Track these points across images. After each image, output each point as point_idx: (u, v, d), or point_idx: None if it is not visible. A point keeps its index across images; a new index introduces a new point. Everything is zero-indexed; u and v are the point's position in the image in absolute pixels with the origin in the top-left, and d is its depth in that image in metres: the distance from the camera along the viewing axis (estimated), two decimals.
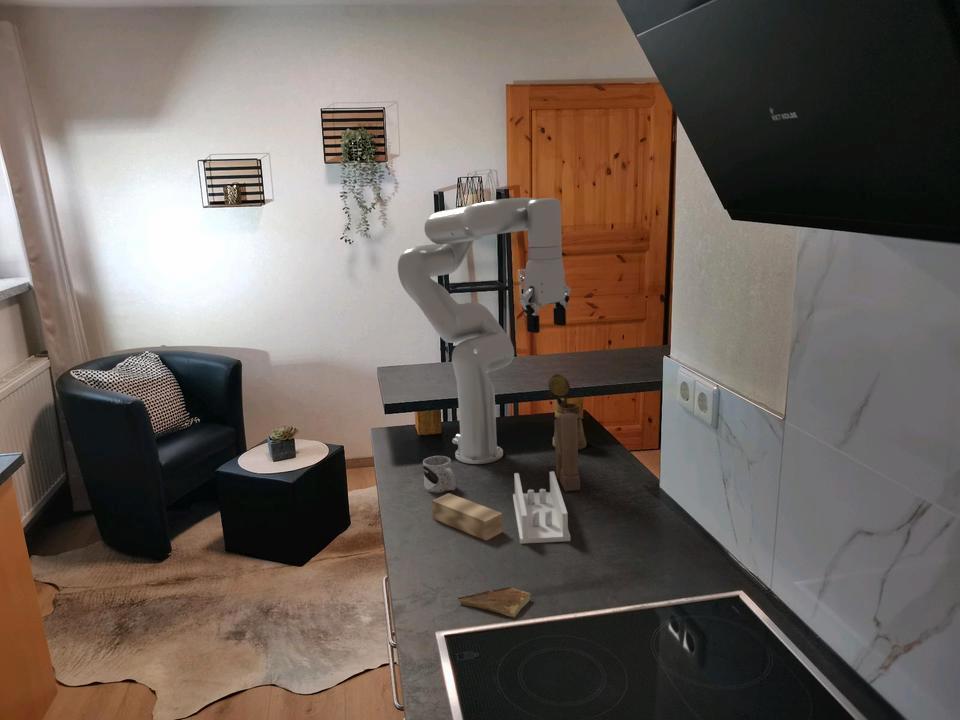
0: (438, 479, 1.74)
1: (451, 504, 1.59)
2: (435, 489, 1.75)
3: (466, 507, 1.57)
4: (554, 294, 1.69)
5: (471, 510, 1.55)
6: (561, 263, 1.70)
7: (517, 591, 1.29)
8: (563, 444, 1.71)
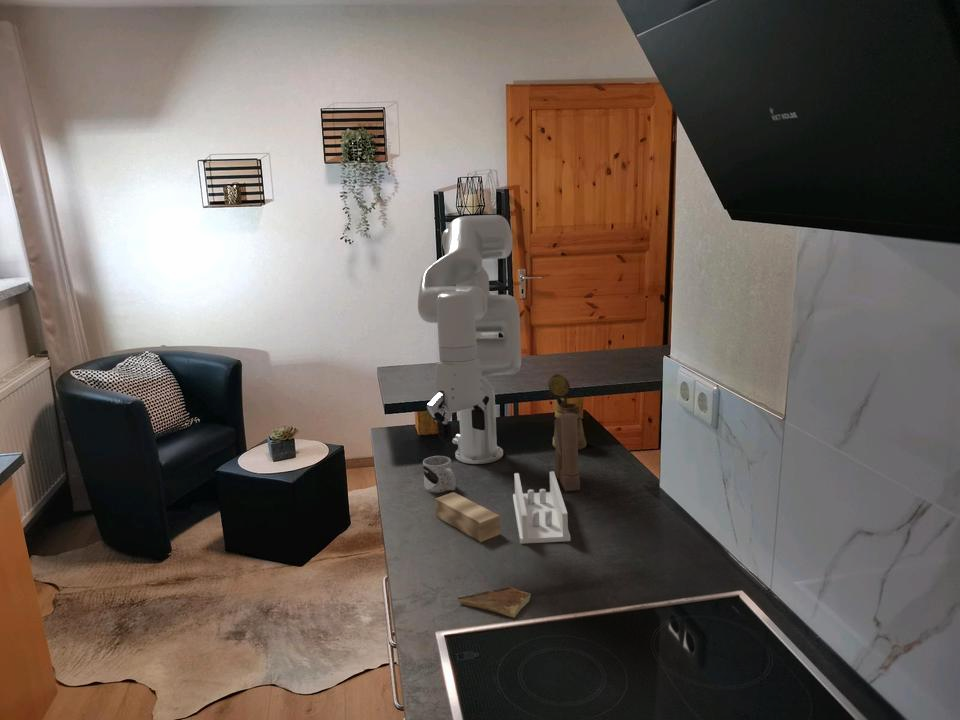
0: (438, 479, 1.74)
1: (452, 503, 1.59)
2: (435, 489, 1.75)
3: (465, 507, 1.57)
4: (468, 398, 1.50)
5: (470, 510, 1.55)
6: (477, 363, 1.50)
7: (517, 591, 1.29)
8: (563, 444, 1.71)
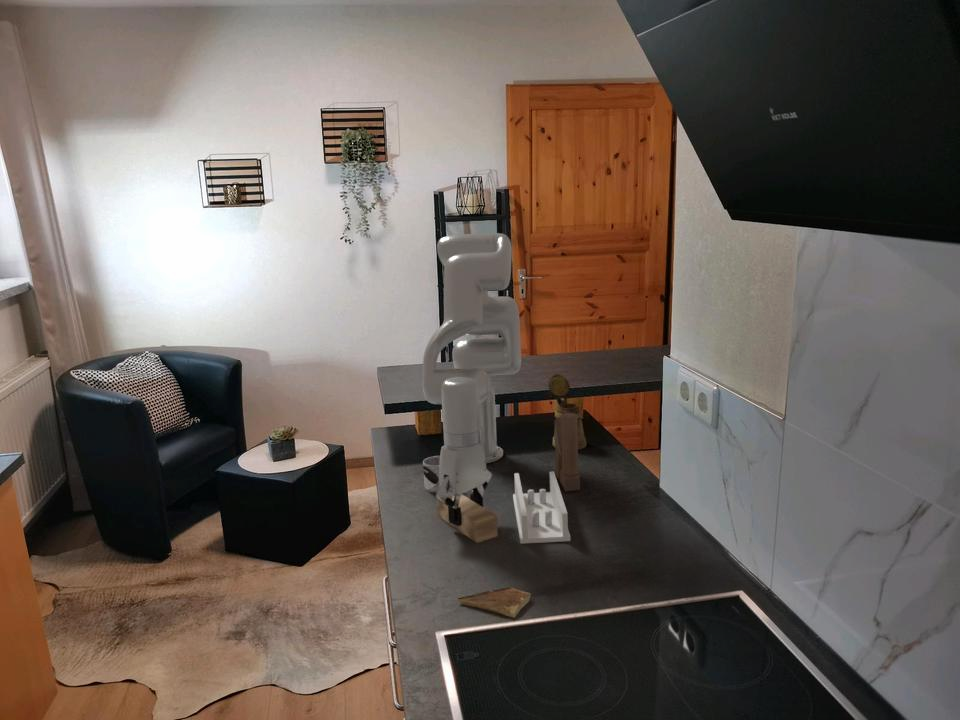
0: (438, 479, 1.74)
1: None
2: (435, 489, 1.75)
3: (465, 506, 1.56)
4: (472, 480, 1.54)
5: (468, 509, 1.55)
6: (480, 446, 1.54)
7: (517, 591, 1.29)
8: (563, 444, 1.71)
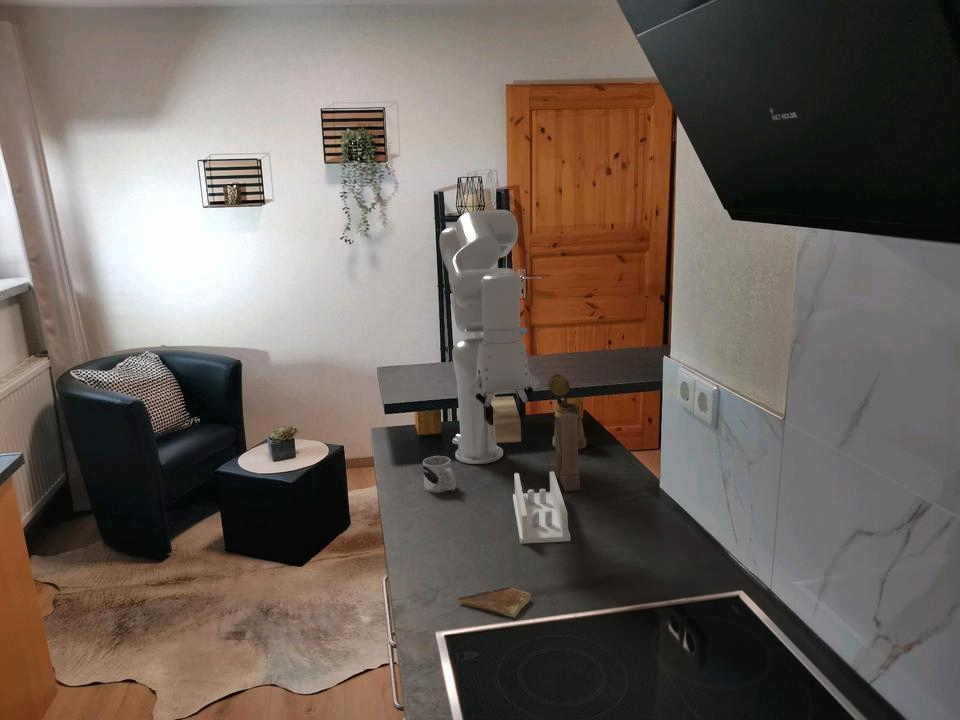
0: (438, 479, 1.74)
1: (497, 403, 1.56)
2: (435, 489, 1.75)
3: (502, 408, 1.53)
4: (507, 381, 1.50)
5: (502, 411, 1.51)
6: (520, 347, 1.49)
7: (517, 591, 1.29)
8: (563, 444, 1.71)
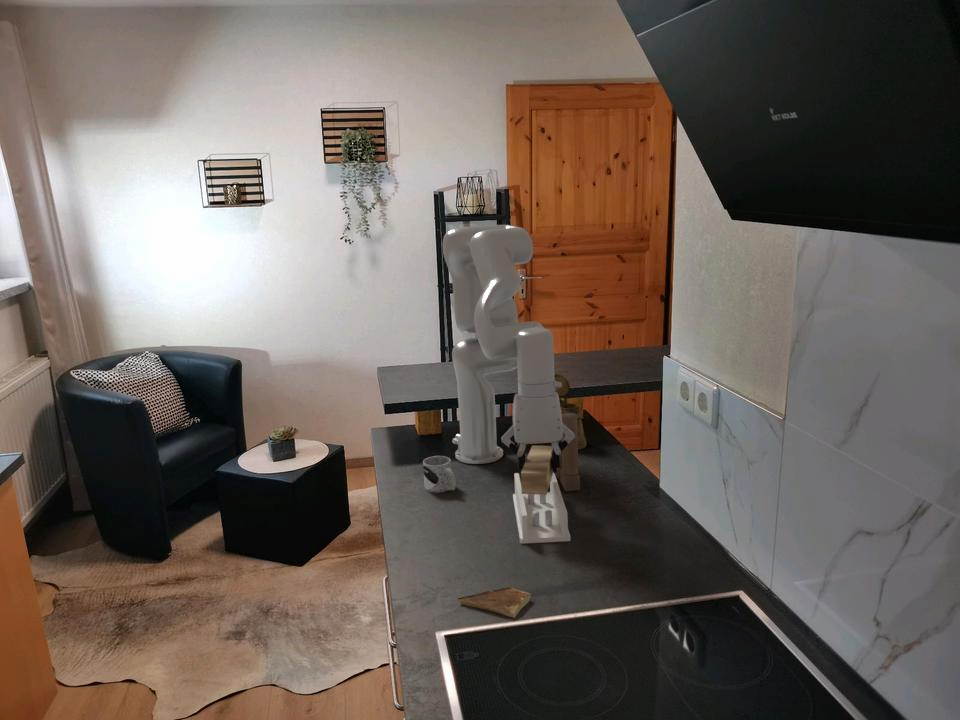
0: (438, 479, 1.74)
1: (535, 452, 1.60)
2: (435, 489, 1.75)
3: (536, 459, 1.56)
4: (539, 434, 1.53)
5: (534, 462, 1.54)
6: (552, 401, 1.51)
7: (517, 591, 1.29)
8: None
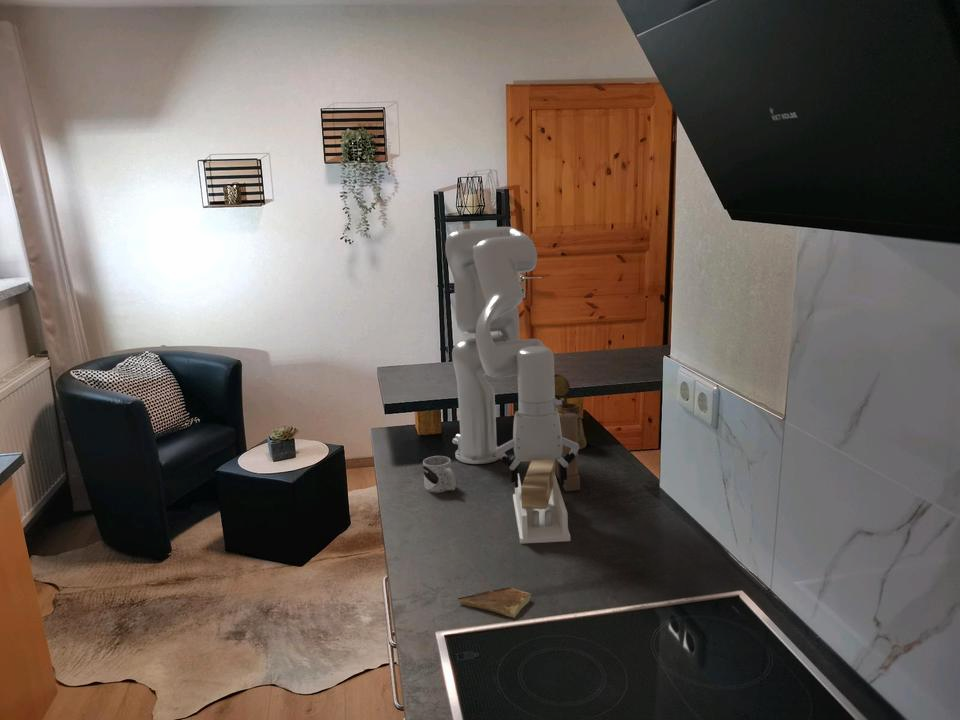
0: (438, 479, 1.74)
1: (535, 466, 1.60)
2: (435, 489, 1.75)
3: (536, 473, 1.57)
4: (539, 451, 1.54)
5: (535, 476, 1.55)
6: (553, 419, 1.52)
7: (517, 591, 1.29)
8: None
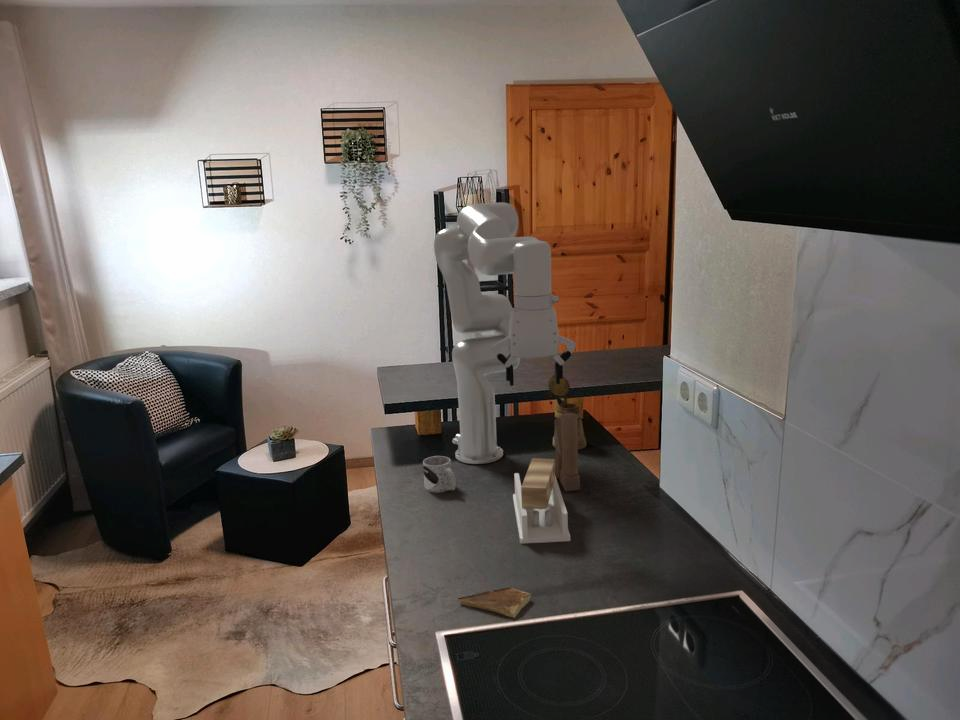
0: (438, 479, 1.74)
1: (535, 466, 1.60)
2: (435, 489, 1.75)
3: (536, 473, 1.57)
4: (535, 348, 1.52)
5: (535, 476, 1.55)
6: (549, 315, 1.50)
7: (517, 591, 1.29)
8: (563, 444, 1.71)
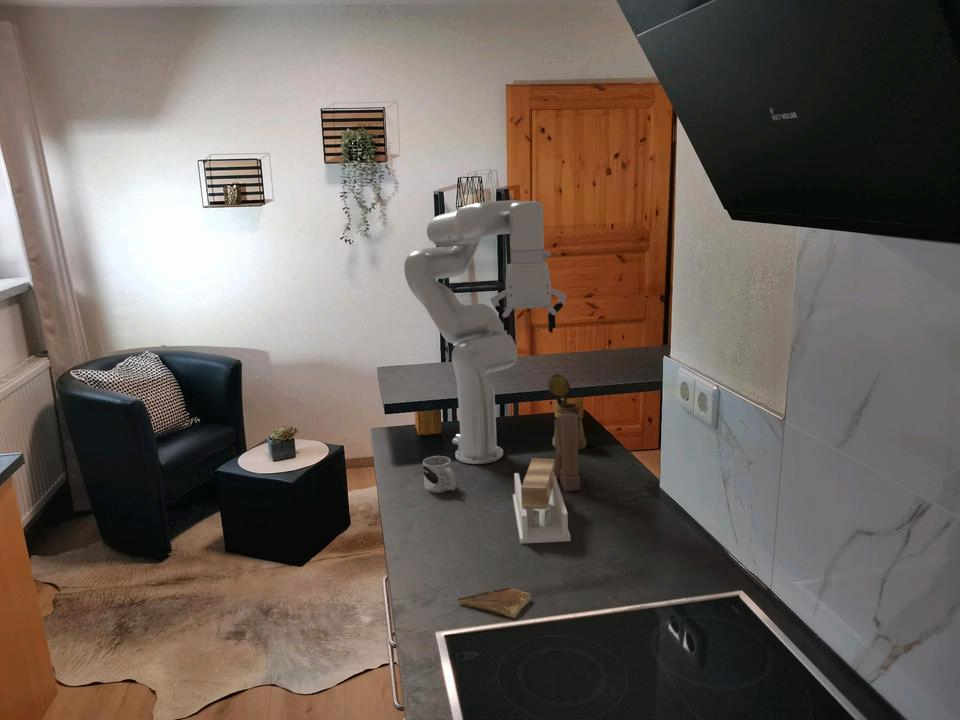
0: (438, 479, 1.74)
1: (535, 466, 1.60)
2: (435, 489, 1.75)
3: (536, 473, 1.57)
4: (530, 299, 1.67)
5: (535, 476, 1.55)
6: (542, 268, 1.66)
7: (517, 591, 1.29)
8: (563, 444, 1.71)
